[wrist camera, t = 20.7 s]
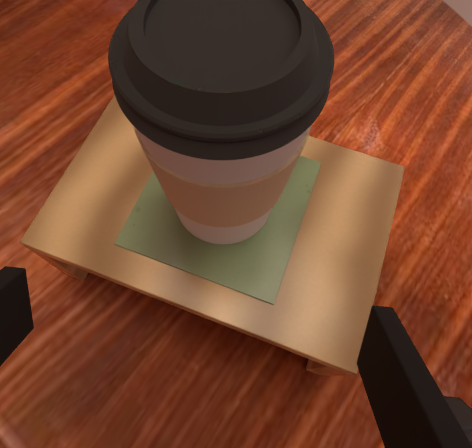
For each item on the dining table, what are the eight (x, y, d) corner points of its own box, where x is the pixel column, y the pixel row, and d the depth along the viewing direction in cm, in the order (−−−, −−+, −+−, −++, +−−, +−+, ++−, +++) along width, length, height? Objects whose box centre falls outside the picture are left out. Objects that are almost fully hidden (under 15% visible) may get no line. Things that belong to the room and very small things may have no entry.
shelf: (365, 214, 37) (406, 165, 29) (322, 376, 31) (358, 374, 23) (146, 139, 40) (125, 74, 31) (68, 276, 34) (17, 241, 26)
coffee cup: (291, 258, 26) (370, 112, 12) (158, 263, 25) (77, 119, 11) (279, 147, 29) (329, -66, 15) (162, 149, 29) (104, -66, 15)
